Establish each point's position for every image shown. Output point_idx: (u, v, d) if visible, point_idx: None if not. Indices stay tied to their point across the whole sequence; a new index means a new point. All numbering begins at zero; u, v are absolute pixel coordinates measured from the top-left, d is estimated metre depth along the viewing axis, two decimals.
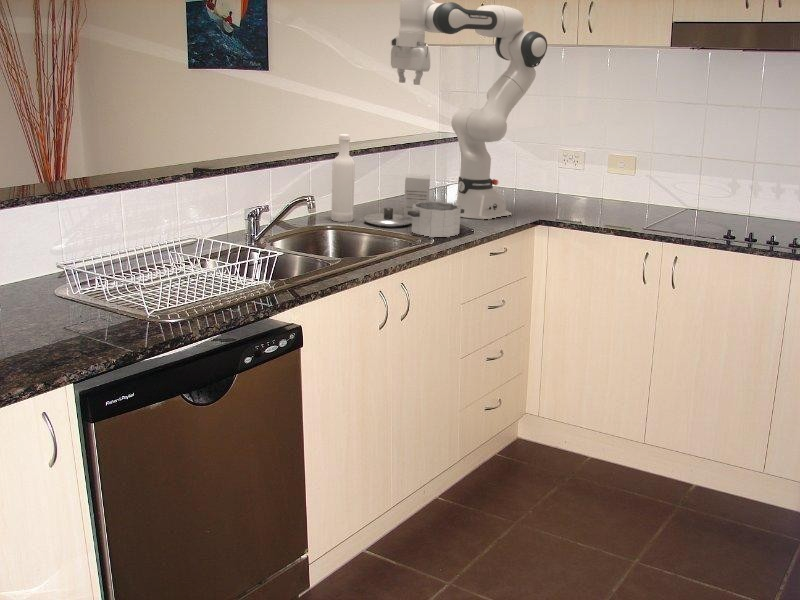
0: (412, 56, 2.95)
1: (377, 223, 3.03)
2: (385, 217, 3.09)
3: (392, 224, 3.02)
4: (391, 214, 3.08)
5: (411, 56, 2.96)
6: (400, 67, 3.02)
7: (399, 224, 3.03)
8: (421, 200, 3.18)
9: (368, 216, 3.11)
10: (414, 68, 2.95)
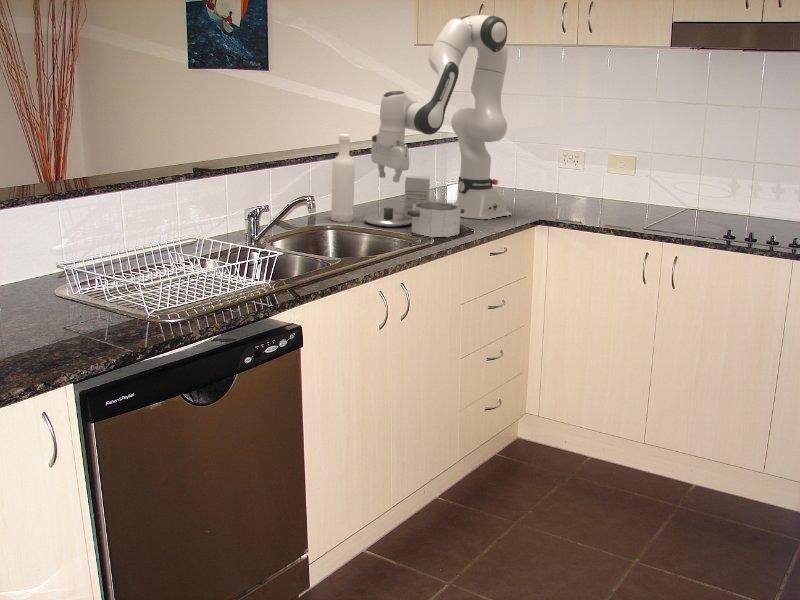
0: (392, 154, 3.00)
1: (377, 223, 3.03)
2: (385, 217, 3.09)
3: (392, 224, 3.02)
4: (391, 214, 3.08)
5: (391, 154, 3.00)
6: (380, 163, 3.06)
7: (399, 224, 3.03)
8: (421, 200, 3.18)
9: (368, 216, 3.11)
10: (393, 166, 2.99)
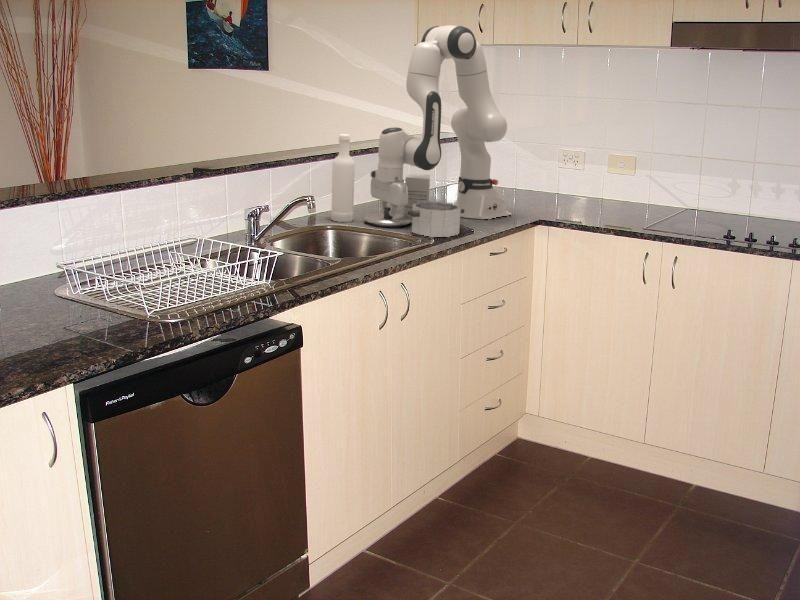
0: (391, 190, 3.03)
1: (377, 222, 3.03)
2: (385, 216, 3.09)
3: (392, 223, 3.02)
4: None
5: (390, 190, 3.04)
6: (379, 198, 3.10)
7: (399, 223, 3.03)
8: (421, 200, 3.18)
9: (368, 215, 3.11)
10: (392, 202, 3.03)
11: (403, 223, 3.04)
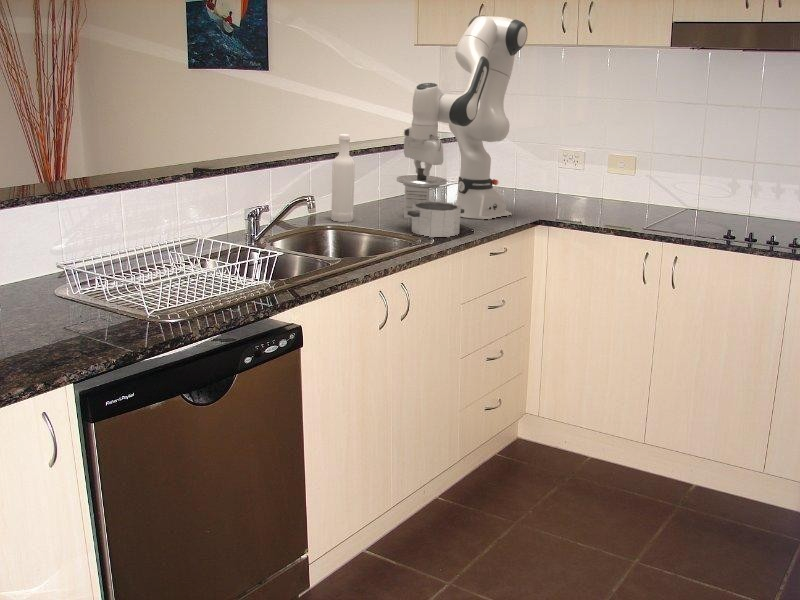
0: (425, 148, 2.92)
1: (410, 183, 2.91)
2: (419, 178, 2.97)
3: (426, 184, 2.91)
4: None
5: (424, 148, 2.92)
6: (413, 158, 2.98)
7: (433, 184, 2.91)
8: (421, 200, 3.18)
9: (401, 177, 3.00)
10: (427, 161, 2.91)
11: (437, 184, 2.92)
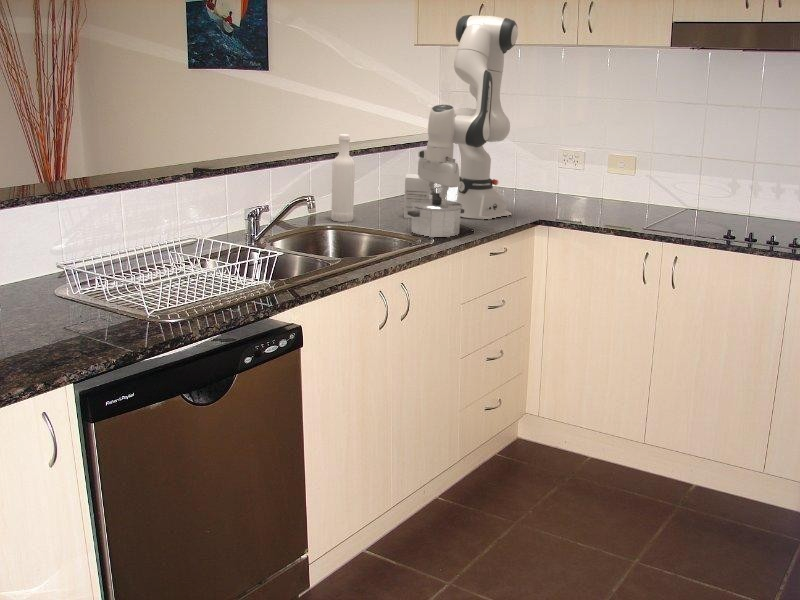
0: (441, 171, 2.90)
1: (426, 208, 2.90)
2: (433, 202, 2.96)
3: (442, 209, 2.89)
4: (440, 199, 2.96)
5: (440, 170, 2.91)
6: (428, 179, 2.97)
7: (449, 210, 2.90)
8: None
9: (415, 202, 2.99)
10: (443, 183, 2.89)
11: (453, 209, 2.91)
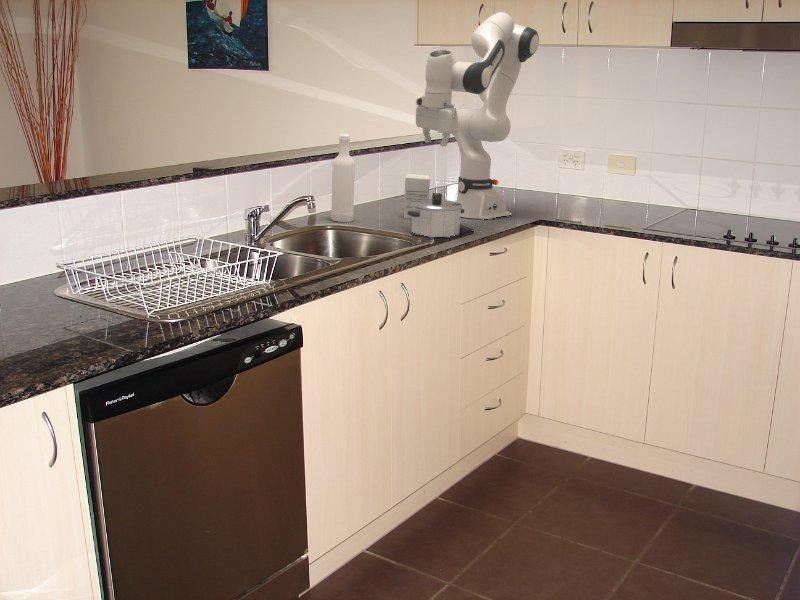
0: (439, 117, 2.87)
1: (426, 208, 2.90)
2: (433, 202, 2.96)
3: (442, 209, 2.89)
4: (440, 199, 2.96)
5: (438, 117, 2.87)
6: (426, 127, 2.94)
7: (449, 210, 2.90)
8: None
9: (415, 202, 2.99)
10: (441, 130, 2.86)
11: (453, 209, 2.91)
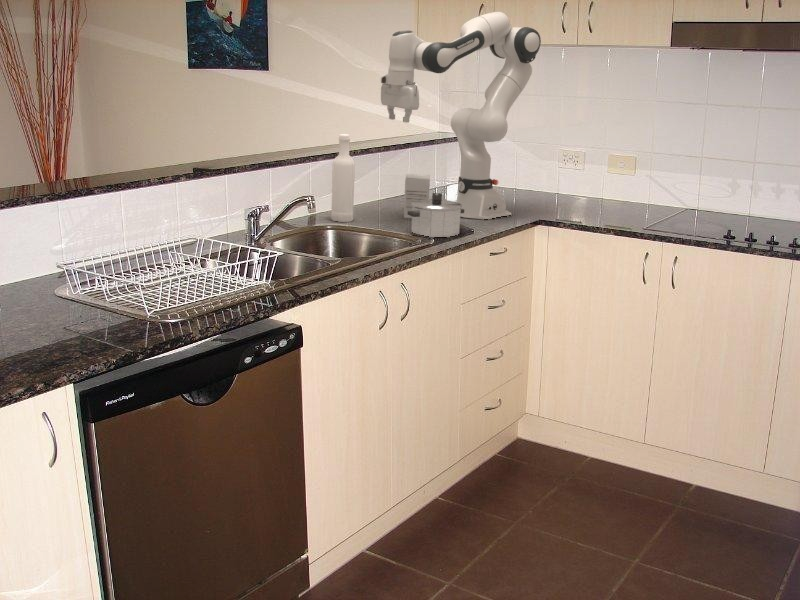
0: (401, 94, 3.00)
1: (426, 208, 2.90)
2: (433, 202, 2.96)
3: (442, 209, 2.89)
4: (440, 199, 2.96)
5: (400, 94, 3.00)
6: (390, 104, 3.06)
7: (449, 210, 2.90)
8: None
9: (415, 202, 2.99)
10: (403, 106, 2.99)
11: (453, 209, 2.91)
